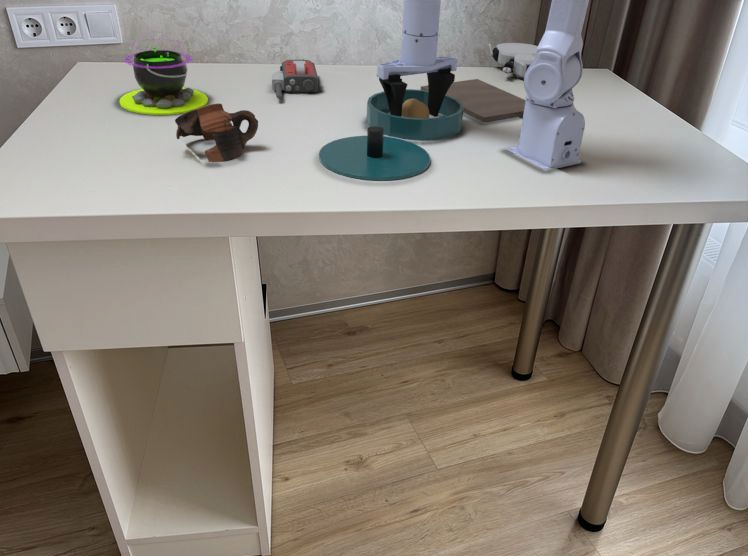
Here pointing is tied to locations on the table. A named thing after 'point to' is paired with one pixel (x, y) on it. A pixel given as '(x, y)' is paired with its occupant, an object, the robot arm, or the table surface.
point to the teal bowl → (415, 126)
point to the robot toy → (514, 57)
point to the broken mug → (218, 130)
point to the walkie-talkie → (295, 77)
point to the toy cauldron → (161, 84)
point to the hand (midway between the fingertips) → (414, 117)
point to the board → (485, 100)
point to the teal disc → (374, 157)
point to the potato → (415, 109)
